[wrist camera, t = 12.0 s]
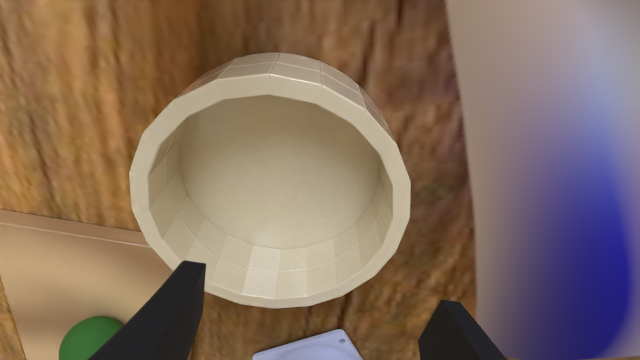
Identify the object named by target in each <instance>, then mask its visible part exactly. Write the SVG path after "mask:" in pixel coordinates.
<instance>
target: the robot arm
mask: <svg viewBox="0 0 640 360" xmlns="http://www.w3.org/2000/svg"><path fill="white" fill-rule="evenodd" d="M205 273H206V263H199V262H193V261H186V260H184V261H183V262H181V263H180V264H179V265H178V267H177V268H176V269H175V270H174V272H173V273H172V274H171V275H170V276H169V278H168V279H167V280H166V281H165V282H164V283H163V285H162V286H161V287H160V288H159V289H158V290H157V291H156V292H155V294H154V295H153V296H152V297H151V298H150V299H149V300H148V301H147V302H146V303H145V304H144V305H143V306H142V307H141V308H140V309H139V310H138V312H137V313H136V314H135V315H134V316H133V317H132V318H131V319H130V320H129V321H128V322H127V323H126V324H125V325H124V326H123V327H122V328H121V329H120V330H119V331H117V332H116V333H115V334H114V335H113V336H112V337H111V338H110V339H109V340H108V341H107V342H106V343H105V344H104V345H103V346H102V347H101V348H99V349H98V350H97V351H96V352H95V353H94V354H93V355H92V356H91V357H90V358H88V359H87V360H187V358H188V356H189V353H190V351H191V348H192V346H193V342H194V339H195V335H196V332H197V329H198V325H199V322H200V318H201V315H202V311H203V300H204V287H205ZM418 344H419V352H420V359H421V360H507V359H506V358H505V357H504V356H503V354H502V353H501V352H500V351H499V349H498V348H497V347H496V346H495V345H494V343H493V342H492V341H491V340H490V338H489V337H488V336H487V335H486V334H485V332H484V331H483V330H482V329H481V327H480V326H479V325H478V324H477V322H476V321H475V320H474V319H473V317H472V316H471V315H470V314H469V313H468V311H467V310H466V309H465V308H464V307H463V305H462V304H461V303H460V302H455V301H448V300H442V299H441V301H440V303H439V305H438V306H437V308H436V310H435V312H434V313H433V315H432V317H431V319H430V320H429V322H428V324H427V326H426V327H425V329H424V331H423V333H422V334H421V336H420V338H419V340H418ZM252 360H363V359H362V358H361V356H360V354H359V353H358V351H357V350H356V348H355V347H354V345H353V343H352V342H351V340H350V339H349V337H348V336H347V334H346V333H345V331H344V330H342V329H336V330H333V331H330V332H326V333H323V334H319V335H316V336H313V337H309V338H306V339H302V340H299V341H296V342H292V343H289V344H286V345H282V346H279V347H275V348H272V349H269V350H265V351H262V352H258V353H255V354H254V355H253V357H252Z"/></svg>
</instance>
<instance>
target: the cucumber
mask: <svg viewBox="0 0 640 360" xmlns="http://www.w3.org/2000/svg"><path fill="white" fill-rule="evenodd" d="M122 327H123V326H122V324H121V323H120V322H119V321H117V320H115V319H113V318H111V317H108V316H95V317H90V318H87V319H85V320H83V321H81V322H79V323H77V324H76V325H75V326H73V327H72V328H71V329H70V330H69V331H68V333H67V334H66V335H65V337H64V338H63V340H62V342H61V345H60V348H59V360H87V359H88V358H90V357H91V356H92V355H93V354H94V353H95V352H96V351H97V350H98V349H99V348H101V347H102V346H103V345H104V344H105V343H106V342H107V341H108V340H109V339H110V338H111V337H112V336H113V335H114V334H115V333H116V332H117V331H119V330H120V329H121V328H122Z"/></svg>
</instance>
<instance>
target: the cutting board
mask: <svg viewBox="0 0 640 360" xmlns="http://www.w3.org/2000/svg"><path fill="white" fill-rule="evenodd" d="M173 272H174V271H173V270H171V269H170V268H169V266H168V265H167V264H166V263H165V262H164V261H163V260H162V259H161V258H160V256H159V255H158V254H157V253H156V252H155V251H154V250H153V249H152V248H151V246H150V245H149V244H148V243H147V242H146V240H145V237H144V235H143V233H142V232H137V231H131V230H124V229H118V228H112V227H106V226H100V225H94V224H88V223H82V222H76V221H69V220H63V219H57V218H51V217H45V216H39V215H33V214H27V213H21V212H14V211H8V210H2V209H0V276H1V279H2V282H3V285H4V288H5V292H6V295H7V298H8V301H9V304H10V308H11V311H12V314H13V317H14V320H15V324H16V327H17V330H18V333H19V336H20V340H21V343H22V346H23V349H24V352H25V355H26V359H27V360H59V348H60V345H61V342H62V340H63V338H64V337H65V335H66V334H67V333H68V331H69V330H70V329H71V328H72V327H73V326H75V325H76V324H77V323H79V322H81V321H83V320H85V319H87V318H90V317H95V316H108V317H111V318H113V319H115V320H117V321H119V322H120V323H121V324H122V326H124V325H125V324H126V323H127V322H128V321H129V320H130V319H131V318H132V317H133V316H134V315H135V314H136V313H137V312H138V310H139V309H140V308H141V307H142V306H143V305H144V304H145V303H146V302H147V301H148V300H149V299H150V298H151V297H152V296H153V295H154V294H155V292H156V291H157V290H158V289H159V288H160V287H161V286H162V285H163V283H164V282H165V281H166V280H167V279H168V278H169V276H170V275H171V274H172V273H173ZM191 359H192V348H191V351H190V353H189V356H188V358H187V360H191Z"/></svg>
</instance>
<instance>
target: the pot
mask: <svg viewBox="0 0 640 360" xmlns="http://www.w3.org/2000/svg"><path fill="white" fill-rule="evenodd" d="M129 178H130V193H131V207H132V211H133V213H134V216H135V218H136V220H137V222H138V224H139V226H140V229H141V231H142V233H143V235H144V237H145V240H146V242H147V243H148V244H149V245H150V246H151V248H152V249H153V250H154V251H155V252H156V253H157V254H158V255H159V256H160V258H161V259H162V260H163V261H164V262H165V263H166V264H167V265H168V266H169V268H170V269H171V270H173V271H174V270H175V269H176V268H177V267H178V265H179V264H180V263H181V262H183V261H184V260H186V261H193V262H199V263H206V273H205V287H204V291H205V292H208V293H211V294H213V295H216V296H219V297H222V298H224V299H227V300H230V301H233V302H235V303H239V304H243V305H251V306H258V307H266V308H273V309H274V308H275V309H277V308H289V307H302V306H310V305H311V306H312V305H315V304H318V303H321V302H324V301H327V300H331V299H334V298H337V297H340V296H343V295H344V294H347V293H348V292H350V291H351V290H353V289H355V288H356V287H358V286H359V285H361V284H363V283H364V282H366V281H367V280H369V279H371V278H372V277H373V276H375V275H376V274H377V273H378V271H379V270H380V269H381V268H382V267H383V266H384V265H385V264H386V262H387V261H388V260H389V259H390V258H391V257H392V256H393V255H394V253H395V252H396V250H397V248H398V246H399V243H400V241H401V238H402V236H403V234H404V231H405V229H406V226H407V224H408V221H409V219H410V194H411V183H410V179H409V176H408V173H407V171H406V168H405V165H404V163H403V160H402V157H401V154H400V152H399V149H398V146H397V144H396V142H395V140H394V138H393V135H392V133H391V131H390V129H389V127H388V125H387V123H386V120H385V118H384V116H383V114H382V113H381V111H380V110H379V108H378V107H377V106H376V105H375V103H374V102H373V100H372V99H371V98H370V97H369V96H368V94H367V93H366V92H365V91H364V90H363V89H362V88H361V87H360V86H359V85H358V84H357V83H356V82H354V81H353V80H352V79H351V78H350V77H348V76H347V75H345V74H344V73H342V72H340V71H339V70H337V69H336V68H334V67H332V66H329V65H327V64H325V63H323V62H321V61H318V60H315V59H312V58H309V57H305V56H301V55H295V54H289V53H260V54H252V55H247V56H243V57H239V58H235V59H233V60H231V61H228V62H226V63H223V64H221V65H219V66H218V67H216V68H214V69H212V70H211V71H209V72H207V73H205V74H203V75H201V76H200V77H199V78H198V79H196V80H195V81H194V82H193V83H192V84H191V85H190V86H188V87H187V88H186V89H185V90H184V91H183V92H182V93H180V94H179V95H178V96H177V97H176V98H175V99H174V100H172V101H171V102H170V103H169V104H168V106H167V107H166V108H165V109H164V110H163V111H162V112H161V113H160V114H159V115H158V116H157V118H156V119H155V120H154V121H153V122H152V123H151V124H150V125H149V126H148V127H147V128H146V130H145V131H144V132H143V134H142V136H141V139H140V142H139V145H138V147H137V150H136V153H135V156H134V159H133V162H132V165H131V168H130V172H129Z"/></svg>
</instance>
